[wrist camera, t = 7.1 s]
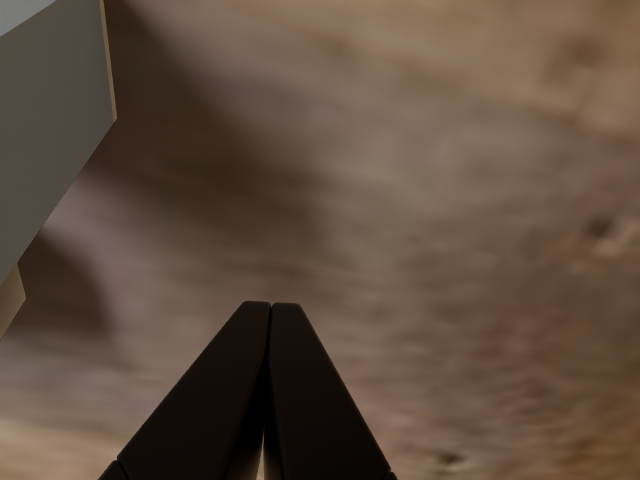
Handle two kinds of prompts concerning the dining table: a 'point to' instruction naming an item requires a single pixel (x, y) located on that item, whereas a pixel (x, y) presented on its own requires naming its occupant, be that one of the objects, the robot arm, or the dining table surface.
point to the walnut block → (10, 298)
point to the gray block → (48, 109)
